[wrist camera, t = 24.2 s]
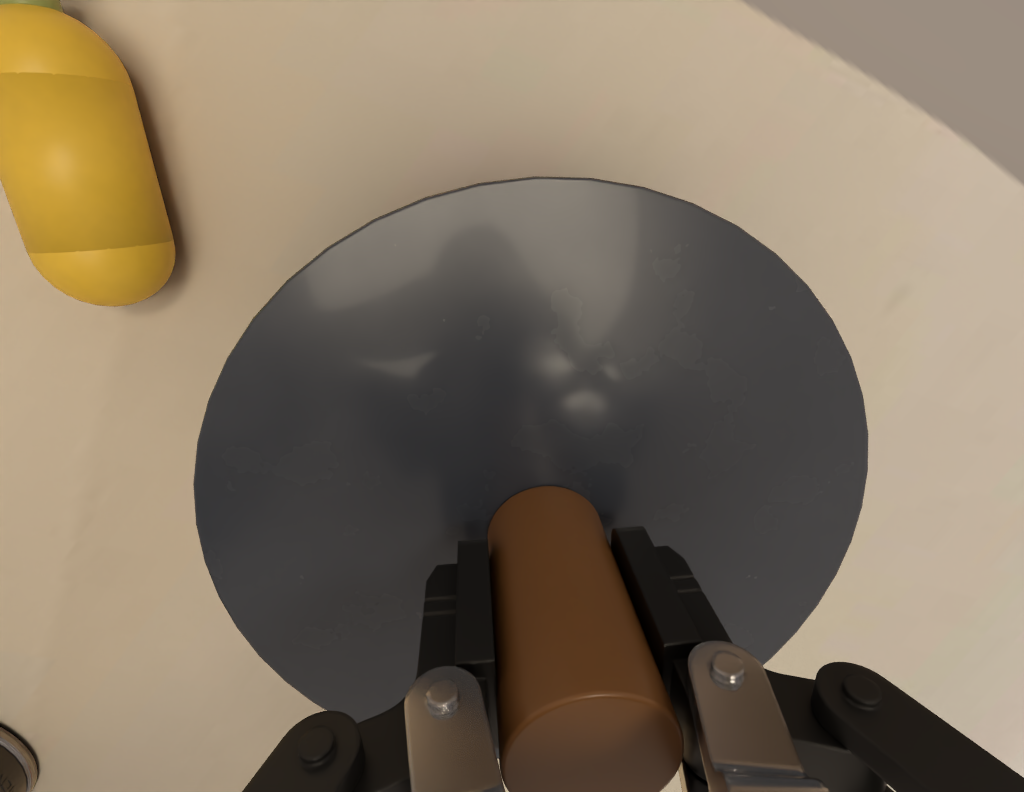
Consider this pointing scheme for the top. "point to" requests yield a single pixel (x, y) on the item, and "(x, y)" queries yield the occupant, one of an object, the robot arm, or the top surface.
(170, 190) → the top surface
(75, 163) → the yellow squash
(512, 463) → the lid
